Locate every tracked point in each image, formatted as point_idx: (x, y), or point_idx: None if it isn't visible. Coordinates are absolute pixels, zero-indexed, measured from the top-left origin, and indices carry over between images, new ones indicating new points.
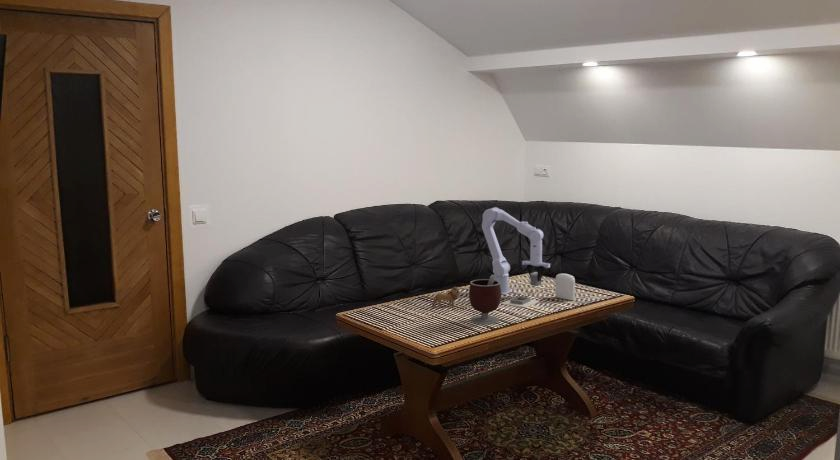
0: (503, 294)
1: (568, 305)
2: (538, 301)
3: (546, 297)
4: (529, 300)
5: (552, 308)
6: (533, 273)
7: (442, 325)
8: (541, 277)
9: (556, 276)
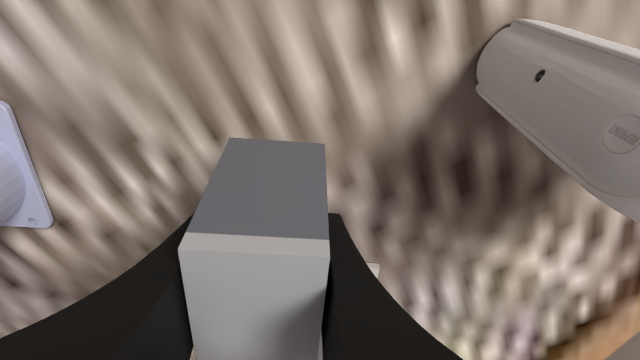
0: (47, 225)
1: (593, 259)
2: (377, 275)
3: (391, 132)
4: None
5: (494, 340)
6: (236, 355)
7: None
8: (350, 244)
9: (632, 212)
